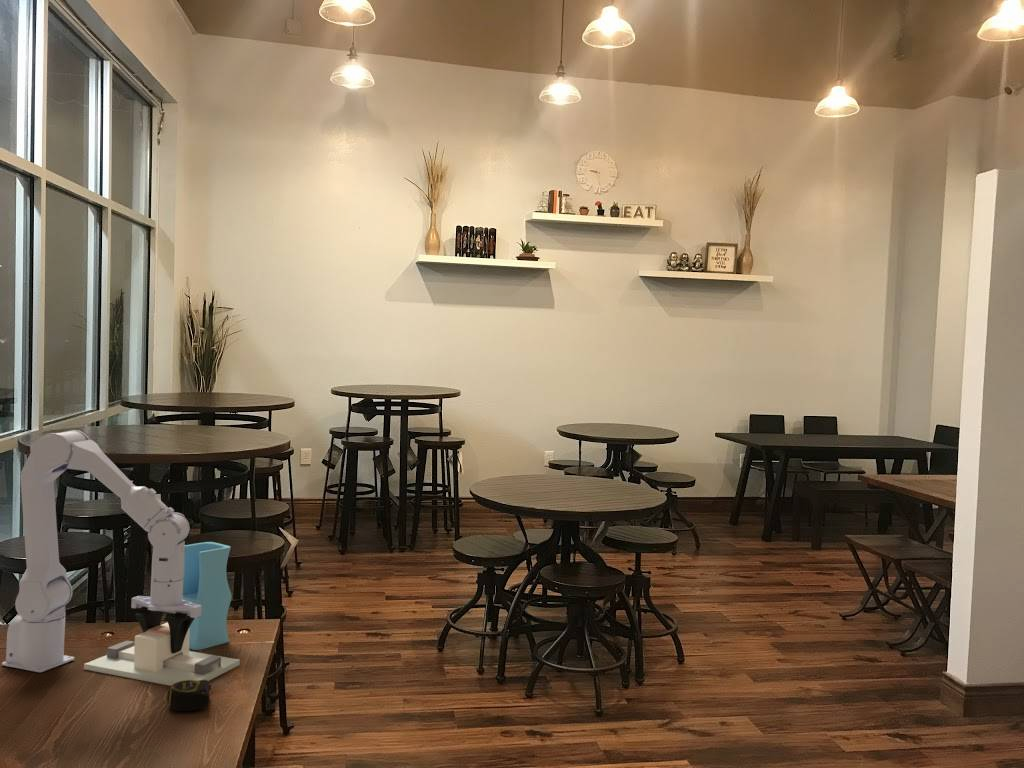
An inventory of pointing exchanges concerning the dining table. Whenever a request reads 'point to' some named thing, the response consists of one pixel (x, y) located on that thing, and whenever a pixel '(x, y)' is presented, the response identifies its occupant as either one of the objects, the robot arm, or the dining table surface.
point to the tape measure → (188, 695)
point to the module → (156, 648)
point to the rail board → (173, 667)
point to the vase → (207, 592)
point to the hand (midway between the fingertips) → (164, 649)
